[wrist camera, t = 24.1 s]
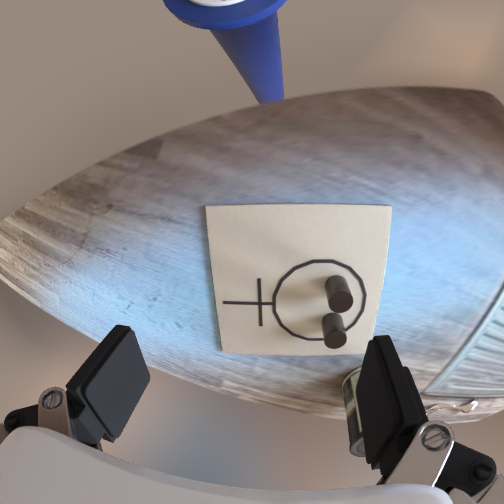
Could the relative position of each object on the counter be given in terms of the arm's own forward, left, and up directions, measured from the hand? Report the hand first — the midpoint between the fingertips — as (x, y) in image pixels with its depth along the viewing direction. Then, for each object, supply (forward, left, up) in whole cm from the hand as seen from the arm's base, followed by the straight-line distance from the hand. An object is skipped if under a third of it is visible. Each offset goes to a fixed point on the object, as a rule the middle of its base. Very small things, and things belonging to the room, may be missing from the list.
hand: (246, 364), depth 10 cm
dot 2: (+16, +8, -26) cm, 31 cm away
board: (+11, +3, -26) cm, 29 cm away
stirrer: (+45, +43, -26) cm, 68 cm away
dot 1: (+10, +8, -26) cm, 29 cm away
